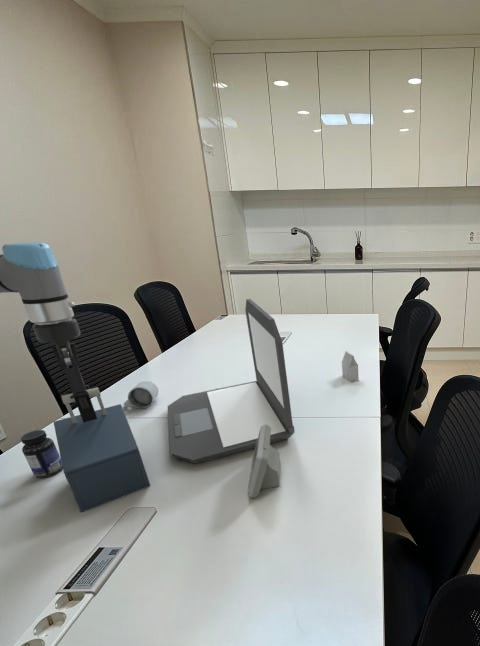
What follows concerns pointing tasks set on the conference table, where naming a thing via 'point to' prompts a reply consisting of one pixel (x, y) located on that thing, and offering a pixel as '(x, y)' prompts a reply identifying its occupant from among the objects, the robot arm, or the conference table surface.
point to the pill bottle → (41, 454)
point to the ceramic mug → (142, 395)
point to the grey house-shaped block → (349, 367)
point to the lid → (93, 436)
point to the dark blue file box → (108, 480)
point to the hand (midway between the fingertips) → (89, 417)
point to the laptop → (236, 403)
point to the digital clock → (264, 464)
